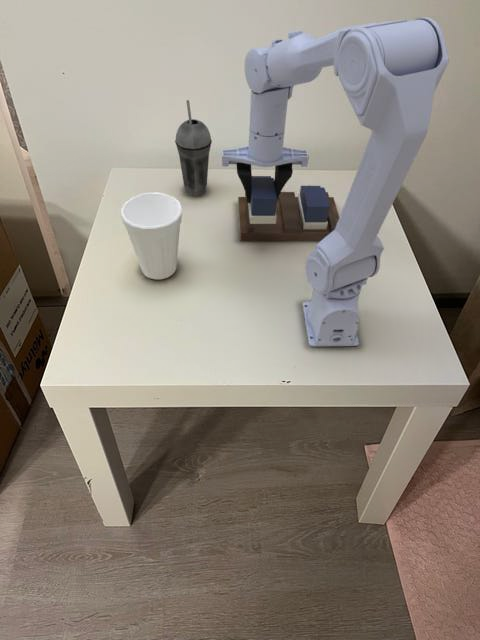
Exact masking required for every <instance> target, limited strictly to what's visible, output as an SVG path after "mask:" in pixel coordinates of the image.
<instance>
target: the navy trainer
mask: <svg viewBox="0 0 480 640" xmlns="http://www.w3.org/2000/svg"><path fill="white" fill-rule="evenodd" d="M274 179H275V177H272V176H271V175H252V179H251V201H250V203H248V207H249V218H250V224H276V203H277V196H276V189H275V183H274Z"/></svg>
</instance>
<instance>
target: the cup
mask: <svg viewBox="0 0 480 640" xmlns="http://www.w3.org/2000/svg"><path fill="white" fill-rule="evenodd" d="M182 217H183V205H182V203H181V202H180V201H179V199H178V198H175V197H174V196H172V195H171V194H168V193H164V192H160V191H158V192H153V191H152V192H143V193H140V194H136V195H134V196H132V197H130V198H129V199H127V200H126V201H125V202H124V204H123V205H122V206H121V209H120V218H121V220H122V223H123V225H124V227H125V229H126V232H127V234H128V237H129V240H130V242H131V245H132V248H133V250H134V253H135V255H136V259H137V261H138V264H139V267H140V270H141V272H142V273H143V275H144V276H145V277H147V278H148V279H152V280H164V279H167V278H168V279H169V277H171V276H173V275H174V273H176V270H177V264H178V253H179V241H180V230H181V223H182Z"/></svg>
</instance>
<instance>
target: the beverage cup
mask: <svg viewBox="0 0 480 640" xmlns="http://www.w3.org/2000/svg"><path fill="white" fill-rule="evenodd" d="M186 107H187V108H186V109H187V117H188V119H187V120H185V121H183V122H182V123H181V124H180V125H179V126H178V128H177V130H176V134H175V140H174V142H175V143H174V144H175V145H176V146H175V147H176V148H177V152H178V157H179V162H180V170H181V175H182V181H183V186H184V191H185V192H184V193H185V194H186V195H187V196H189V197H192V198H199V197H202V196H205V194H206V193H207V186H208V175H209V174H208V173H209V162H210V161H209V159H210V152H211V146H212V143H213V140H212V136H211V133H210V131H209V128H208V126H206V124H205V123H204V122H203V121H201V120H198V119H193V118H192V113H191V105H190V100H189V99H186Z"/></svg>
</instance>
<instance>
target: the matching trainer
mask: <svg viewBox="0 0 480 640" xmlns="http://www.w3.org/2000/svg"><path fill="white" fill-rule="evenodd" d="M326 192H327V191H326V188H325V187H324V186H323V187H321V185H300V189H299V193H297V197H298V198H297V201H298V206H299V211H300V216H301V221H302V226H303V229H327V225H328V222H327V217H328V212H329V207H330V206H329V203H328V199H327V195H326Z"/></svg>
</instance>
